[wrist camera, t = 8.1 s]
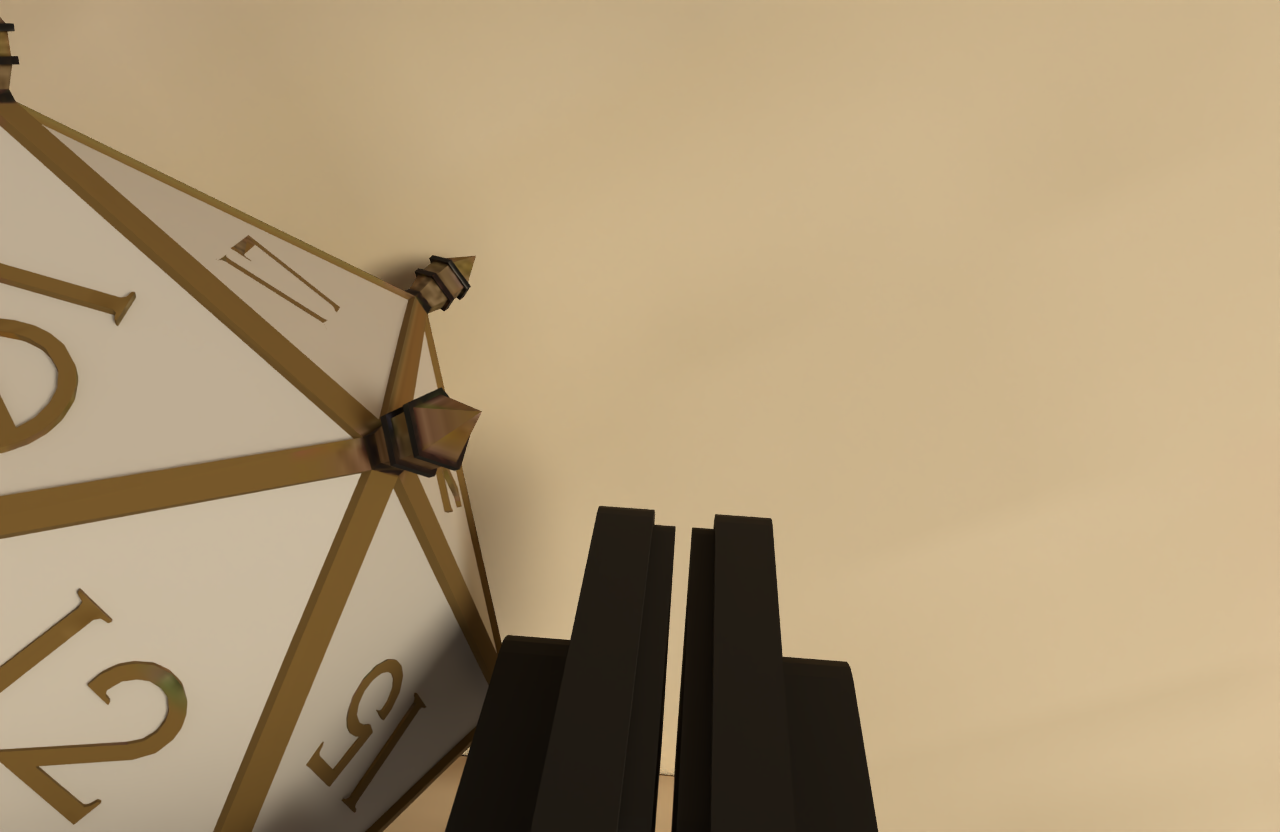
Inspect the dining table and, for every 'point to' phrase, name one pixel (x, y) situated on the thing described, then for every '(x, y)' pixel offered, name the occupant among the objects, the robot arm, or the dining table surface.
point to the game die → (220, 512)
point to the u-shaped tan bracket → (429, 813)
